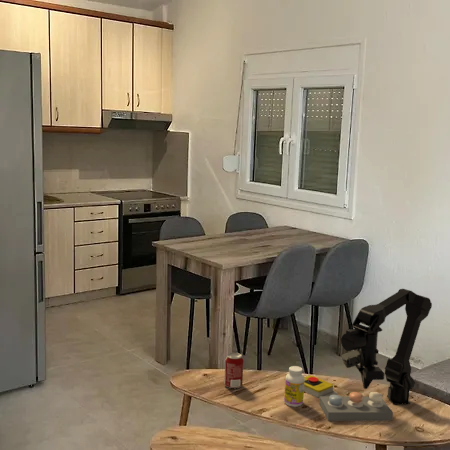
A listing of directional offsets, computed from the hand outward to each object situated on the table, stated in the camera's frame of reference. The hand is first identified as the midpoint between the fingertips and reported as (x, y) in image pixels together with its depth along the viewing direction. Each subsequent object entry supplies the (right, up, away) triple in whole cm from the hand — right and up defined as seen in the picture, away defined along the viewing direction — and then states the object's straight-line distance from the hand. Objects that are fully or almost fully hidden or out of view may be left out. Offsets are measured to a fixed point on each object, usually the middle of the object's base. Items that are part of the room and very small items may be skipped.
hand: (365, 388), depth 200 cm
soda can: (-45, -4, +18) cm, 49 cm away
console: (-3, -8, +1) cm, 9 cm away
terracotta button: (-3, -4, 0) cm, 5 cm away
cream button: (+4, -4, +1) cm, 6 cm away
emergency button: (-15, -6, +18) cm, 24 cm away
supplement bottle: (-24, -7, +6) cm, 26 cm away
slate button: (-10, -5, 0) cm, 11 cm away
